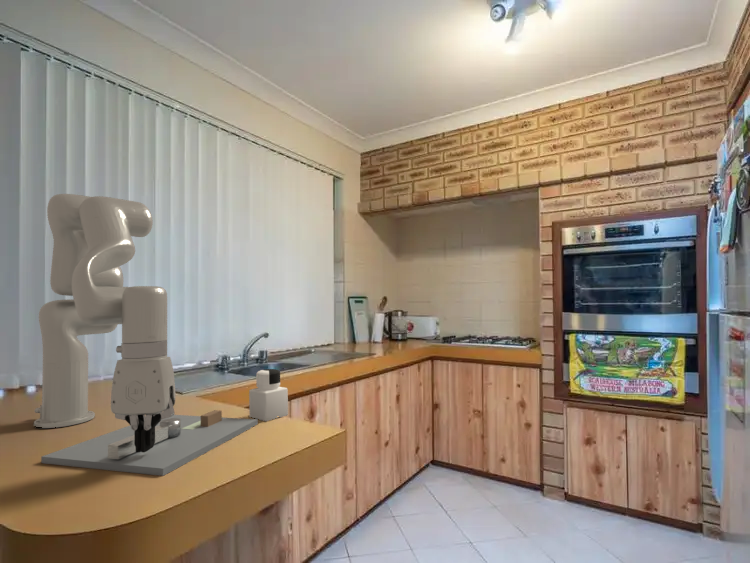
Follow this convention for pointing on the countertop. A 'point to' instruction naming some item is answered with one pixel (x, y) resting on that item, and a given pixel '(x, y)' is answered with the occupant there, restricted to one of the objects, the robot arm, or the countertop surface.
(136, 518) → the countertop surface
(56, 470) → the countertop surface
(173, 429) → the swing bar
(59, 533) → the countertop surface
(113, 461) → the latch plate
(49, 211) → the robot arm
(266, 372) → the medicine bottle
